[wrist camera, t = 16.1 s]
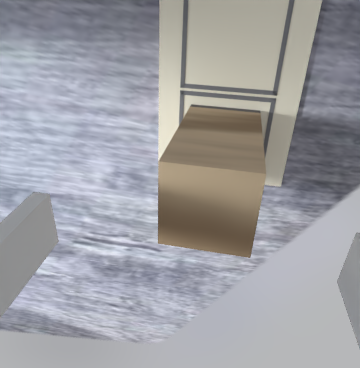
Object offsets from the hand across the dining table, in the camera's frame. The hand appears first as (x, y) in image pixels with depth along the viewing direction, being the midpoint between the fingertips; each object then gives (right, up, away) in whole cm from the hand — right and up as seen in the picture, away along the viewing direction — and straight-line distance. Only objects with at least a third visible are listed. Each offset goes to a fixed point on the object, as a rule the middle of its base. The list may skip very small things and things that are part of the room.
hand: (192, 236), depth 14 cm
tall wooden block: (+3, +6, +11) cm, 12 cm away
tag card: (+3, +9, +9) cm, 13 cm away
